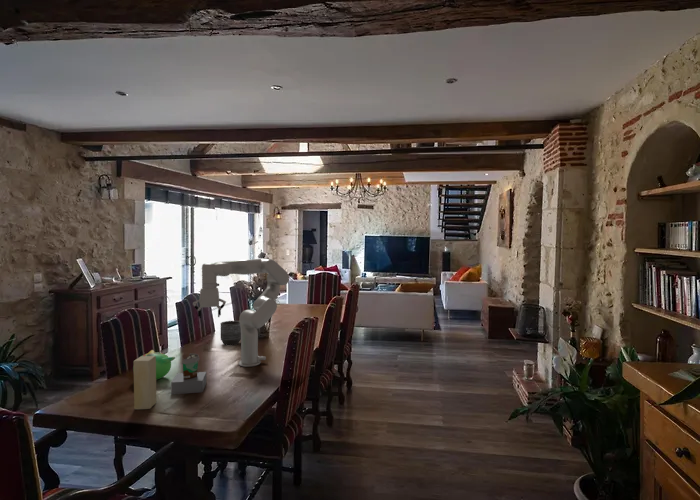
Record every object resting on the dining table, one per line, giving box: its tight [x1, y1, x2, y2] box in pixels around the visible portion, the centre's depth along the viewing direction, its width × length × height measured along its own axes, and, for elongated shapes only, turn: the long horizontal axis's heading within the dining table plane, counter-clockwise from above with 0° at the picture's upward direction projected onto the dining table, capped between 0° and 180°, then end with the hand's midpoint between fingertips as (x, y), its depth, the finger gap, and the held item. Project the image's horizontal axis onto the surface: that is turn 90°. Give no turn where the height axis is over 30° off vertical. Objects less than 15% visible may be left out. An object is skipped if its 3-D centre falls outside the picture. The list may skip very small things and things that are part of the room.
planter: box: [220, 320, 241, 346], centre depth 299 cm, size 14×14×15 cm
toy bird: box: [132, 349, 176, 381], centre depth 222 cm, size 18×17×15 cm
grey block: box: [170, 371, 207, 395], centre depth 210 cm, size 14×14×6 cm
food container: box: [181, 352, 200, 380], centre depth 211 cm, size 12×6×10 cm, turn 4°
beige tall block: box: [133, 355, 157, 410], centre depth 187 cm, size 8×7×21 cm
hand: (209, 317), depth 234 cm, fingers open, 9 cm apart
